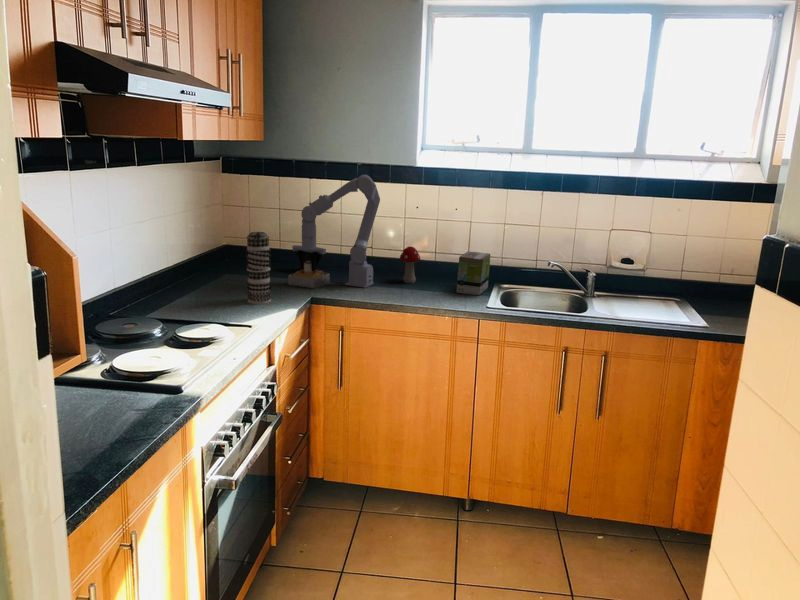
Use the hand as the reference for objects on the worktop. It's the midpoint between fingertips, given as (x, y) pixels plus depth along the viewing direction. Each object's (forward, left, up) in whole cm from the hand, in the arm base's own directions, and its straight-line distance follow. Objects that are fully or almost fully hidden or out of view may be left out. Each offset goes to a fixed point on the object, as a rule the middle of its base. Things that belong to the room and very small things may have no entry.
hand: (309, 269), depth 267 cm
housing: (0, 0, -6) cm, 6 cm away
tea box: (-61, -26, -6) cm, 67 cm away
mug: (+13, -22, -6) cm, 26 cm away
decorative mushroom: (-33, -26, -6) cm, 42 cm away
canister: (0, 0, -3) cm, 3 cm away
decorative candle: (+1, +32, -6) cm, 33 cm away
